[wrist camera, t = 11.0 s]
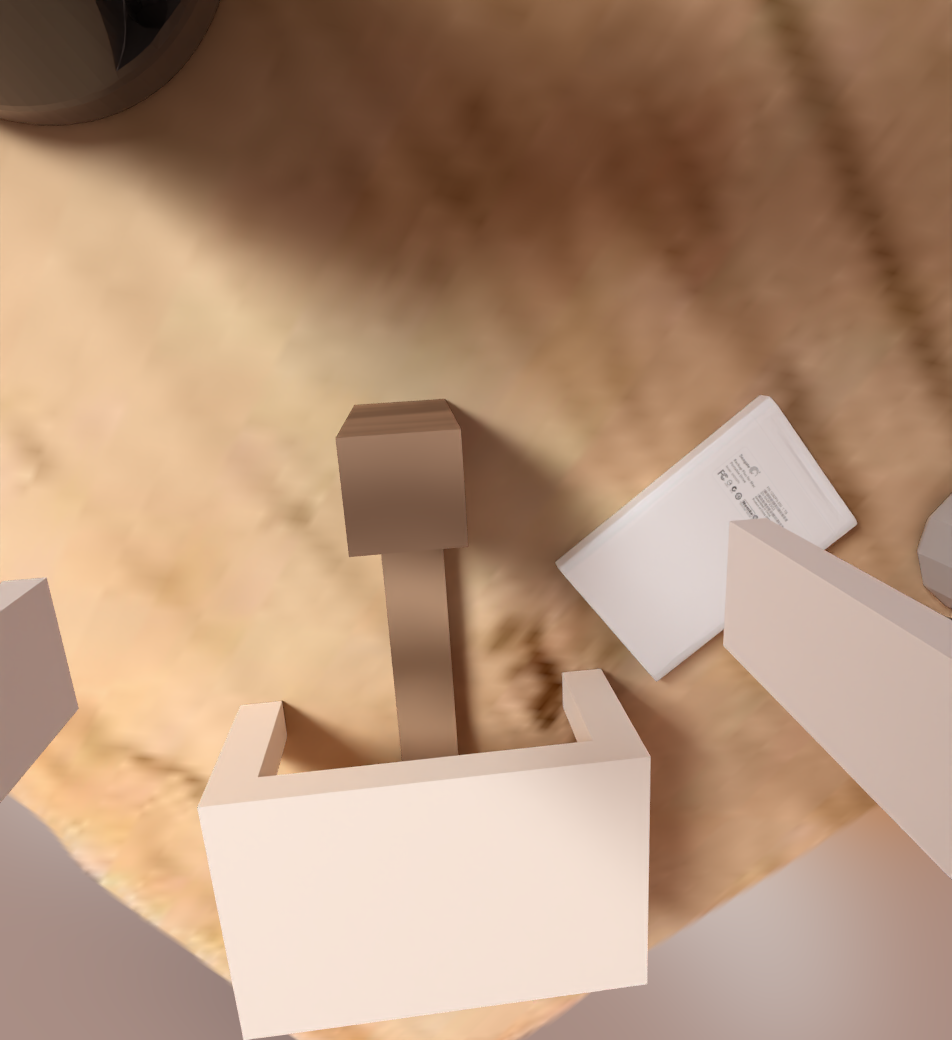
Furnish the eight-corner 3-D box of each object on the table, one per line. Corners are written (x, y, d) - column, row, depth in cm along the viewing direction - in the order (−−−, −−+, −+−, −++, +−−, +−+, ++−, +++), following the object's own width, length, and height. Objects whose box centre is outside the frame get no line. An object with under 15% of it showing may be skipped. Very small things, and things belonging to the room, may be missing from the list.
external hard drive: (551, 558, 34) (755, 392, 33) (647, 669, 36) (842, 517, 35) (558, 570, 33) (773, 396, 31) (658, 685, 35) (862, 527, 34)
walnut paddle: (354, 405, 31) (335, 438, 22) (445, 398, 31) (461, 429, 22) (394, 790, 36) (392, 936, 28) (471, 782, 37) (491, 923, 28)
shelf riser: (240, 705, 34) (197, 807, 27) (600, 668, 36) (650, 756, 28) (274, 902, 38) (243, 1040, 30) (601, 861, 39) (646, 984, 32)
